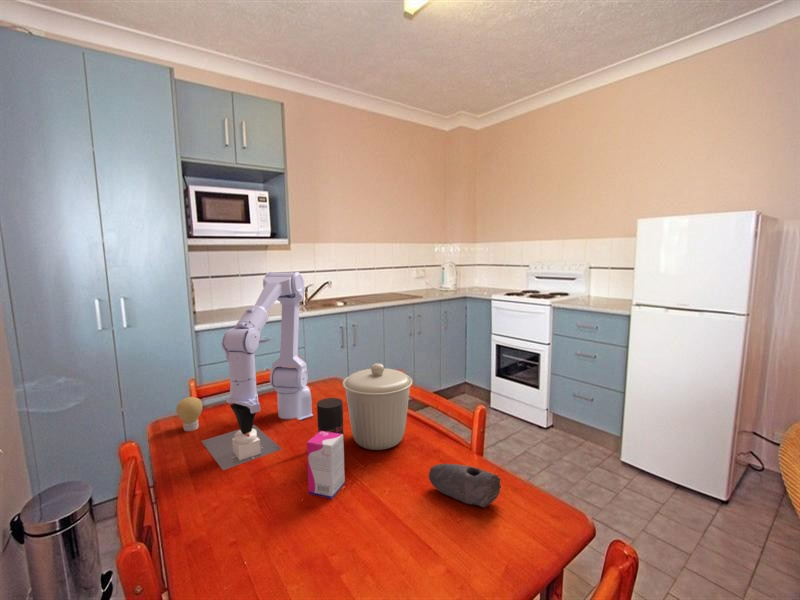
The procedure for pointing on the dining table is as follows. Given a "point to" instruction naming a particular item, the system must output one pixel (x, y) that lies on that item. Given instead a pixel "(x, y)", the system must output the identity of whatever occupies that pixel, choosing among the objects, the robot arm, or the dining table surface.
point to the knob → (246, 444)
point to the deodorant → (330, 415)
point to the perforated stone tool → (465, 483)
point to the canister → (377, 406)
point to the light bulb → (189, 412)
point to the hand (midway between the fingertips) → (246, 431)
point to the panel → (223, 448)
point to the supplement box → (325, 464)
